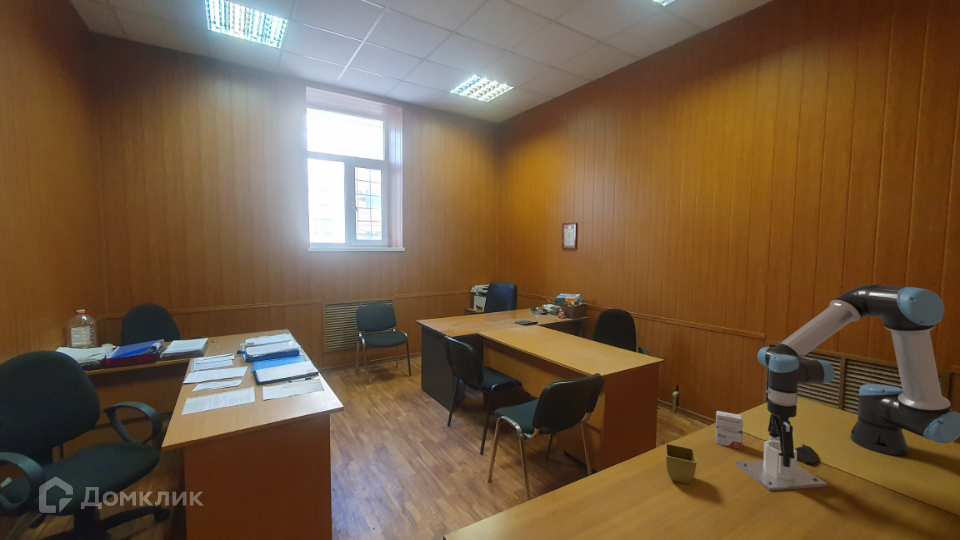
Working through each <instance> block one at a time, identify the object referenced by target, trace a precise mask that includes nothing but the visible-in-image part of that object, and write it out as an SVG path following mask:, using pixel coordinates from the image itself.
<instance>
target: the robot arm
mask: <svg viewBox="0 0 960 540" xmlns="http://www.w3.org/2000/svg"><path fill="white" fill-rule="evenodd" d="M943 315H945V305H944V302H943V299H941V297H940V296H939V295H938V294H937V293H935V292H933V291H932V290H930V289H927V288H920V287H915V286H901V285H899V286H898V285H888V284H881V283H880V284H879V283H871V284H863V285H861V286H856V287H854V288H851V289H850V290H847V291H845V292H843V293H841V294H840V295H838V296H837V297H835V298H834V299H832V300H831V301H830V302H829V306H828V307H827V308H826V309H824V310H823V311H822V312H820V313H819V314H817V315H816V316H815V317H813V318H812V319H810V321H808V322H806V324H804V325H802V326H801V327H800V328H798V329H797V330H796V331H795V332H793V333H792V334H791V335H789V336H788V337H787V338H785V339H784V340H783V341H781V342H780V343H778V344H777V345H776V346H774V347H773V346H764V347H762V348H760V349H759V351H758V353H757V361H758V362H759V363H760V365H762V366H763V367H766V368H767V369H768V381H767V382H768V383H767V384H768V385H767V386H768V389H766V390H765V393H767V398H768V399H767V402H766V403H767V408H766V409H767V411H768V412H769V413H770V416H769V423H768V427H767V432H768V434H769V440H776V441H780V446H781V453H779V455H780V467H779V473H780V474H781V475H786V476H791V458H792V459H794V448H795V446H794V437H793V435H794V434H793V433H794V432H793V429H794V427H793V425H791V421H790V419H791V418H795V417H796V416H797V408H798V406H797V404H798V389H799V387H798V386H799V385H813V384H814V385H815V384H816V385H821V384H828V383H831V382H832V381H834V379H835V378H836V377H835V375H836V370H835V368H834V367H833V365H832V364H831V363H830V362H828V361H826V360H822V359H808V358H805V356H806V355H808V353H810V352H812V351H813V350H814V349H815V348H816V347H818V346H820V345H821V344H822V343H824V342H825V341H826V340H828V339H829V338H830V337H832V336H833V335H834V334H836V333H837V332H839V331H840V330H842V329H843V328H844V327H845V326H847V325H848V324H849V323H851V322H857V321H859V320H860V319H862V318H864V317H875V318H880V319H881V320H882V325H883V328H885V329H886V330H888V331H890V333H891V334H890V335H891V339H892V345H893V350H894V354H895V358H896V364H897V368H898V369H897V370H898V374H899V377H900V378H899V379H900V383H901V387H898V386H894V385H887V384H877V383H868V384H867V383H866V384H862V385H861V386H860V387H859V393H858V405H857V407H858V408H857V409H858V411H857V420H856V422H855V423H854V426H853V427H852V429H851V431H850V436H849V437H850V440H851V441H852V442H854V443H855V444H857V445H859V446H861V447H862V448H866V449H867V450H871V451H874V452H878V453H881V454H886V455H892V456H905V455H908V454H909V445H908V443H907V439H906V437H905V435H904V432H903V430H905V431H908V432H910V433H913V434H915V435H918V436H920V437H923V438H924V439H926V440H930V441H933V442H935V443H939V444H949V443H952V442H954V441H956V440H958V439H959V437H960V413H959V412H958V411H954V410H952V404H951V401H950V400H949V399H948V398H946V397H945V396H943V395H942V390H941V385H940V380H939V374H938V368H937V363H936V359H935V355H934V354H935V353H934V348H933V343H932V337H931V332H930V331H932V330H934V328H936V324H939V323H940V322H941V321H942V320H943V318H944V317H943Z"/></svg>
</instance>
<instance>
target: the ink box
mask: <svg viewBox="0 0 960 540" xmlns="http://www.w3.org/2000/svg"><path fill="white" fill-rule="evenodd" d="M743 424H744V420H743V415H742V414H738V413H737V414H736V413H731V412H726V411H721V410H716V411H715V444H716V445H721V446H726V447H730V448H735V449H737V450H738V449H740V450H742V449H743V436H744V435H743V431H744V430H743V427H744V426H743Z"/></svg>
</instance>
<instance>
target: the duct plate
mask: <svg viewBox="0 0 960 540" xmlns="http://www.w3.org/2000/svg"><path fill="white" fill-rule="evenodd" d="M734 464H735V466H736V467H738V468H739V469H740V470H741V471H742V472H744V473H745V474H747V475H748V476H749V477H751V478H752V479H754V481H756V482H757V483H758V484H760V485H761V486H762V487H763V488H765V489H766V490H768V491H770V492H771V491H782V490H783V491H784V490H797V489H808V488H812V489H813V488H821V487H822V488H823V487H828V483H827V482H826V481H824V480H823V479H821V478H819V477H818V476H816V475H814V473H811V472H810V471H809V470H806V468H803V467H802V466H800V465H799V464H797V466H796V478H795V479H792V480H785V479H780V478H776V477H774V476H772V475H771V474H769V473H767V472H766V471H765V469H764V467H763V459H759V460H757V459H756V460H744V461H742V460H741V461H735V462H734Z"/></svg>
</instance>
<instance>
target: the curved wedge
mask: <svg viewBox="0 0 960 540" xmlns="http://www.w3.org/2000/svg"><path fill="white" fill-rule="evenodd" d="M794 448H795V449H796V451H797V461H798V462H800V463H803V464H806V465H808V466H814V465H815V464H816V463H817V460H818V455H817V452H816V451H815V450H814V449H813V448H812V447H811V446H809V445H806V444H802V446H799V447H794Z"/></svg>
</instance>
